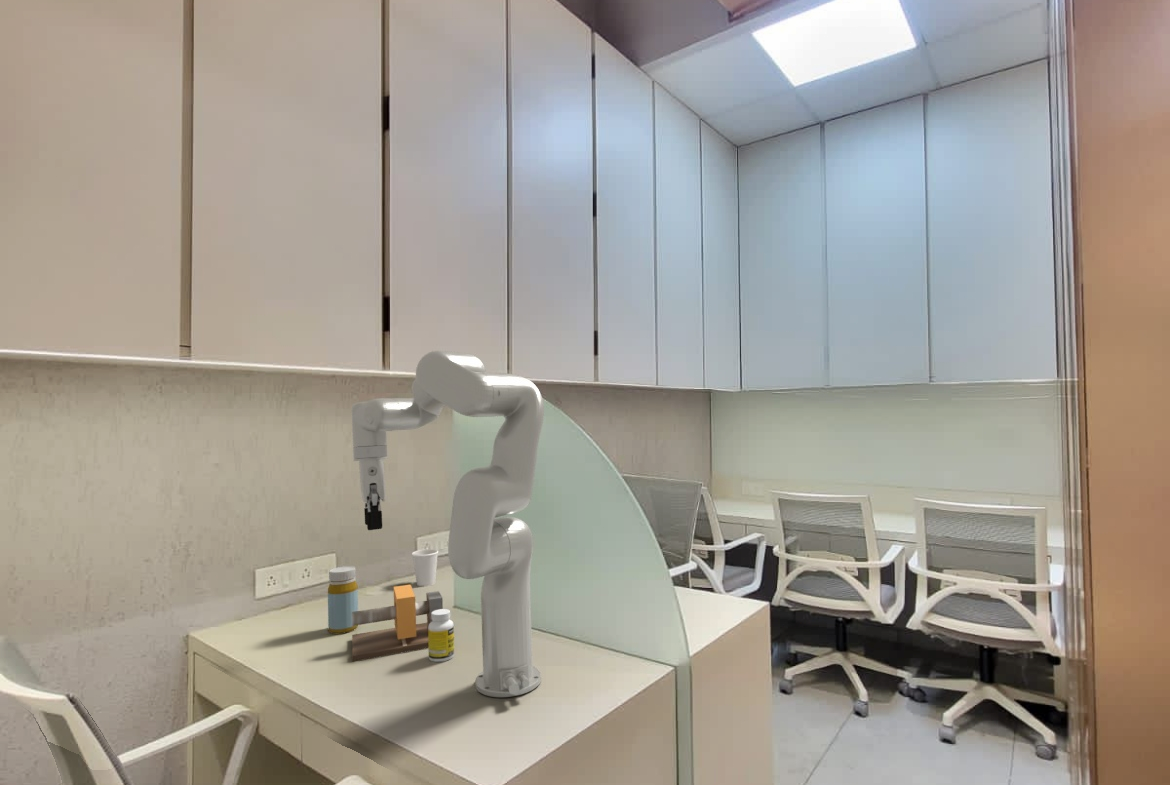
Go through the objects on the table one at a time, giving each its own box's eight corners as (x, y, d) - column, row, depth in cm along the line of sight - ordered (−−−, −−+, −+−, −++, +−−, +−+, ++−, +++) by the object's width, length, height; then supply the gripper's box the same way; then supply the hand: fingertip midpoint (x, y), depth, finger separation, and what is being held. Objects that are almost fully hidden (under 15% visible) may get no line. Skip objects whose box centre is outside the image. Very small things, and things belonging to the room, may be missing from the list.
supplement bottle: (452, 661, 124) (450, 615, 125) (426, 663, 124) (425, 616, 125) (456, 651, 130) (454, 607, 130) (431, 653, 129) (430, 608, 130)
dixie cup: (434, 578, 193) (433, 547, 193) (443, 583, 186) (442, 552, 186) (409, 583, 188) (408, 551, 189) (416, 589, 181) (415, 556, 182)
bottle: (347, 635, 143) (346, 573, 144) (322, 634, 145) (321, 572, 145) (364, 624, 150) (362, 565, 151) (339, 624, 151) (338, 565, 152)
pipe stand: (446, 644, 134) (444, 602, 135) (352, 661, 127) (351, 616, 127) (437, 625, 147) (436, 587, 148) (352, 639, 140) (351, 599, 140)
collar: (416, 636, 133) (415, 596, 134) (398, 639, 132) (396, 599, 132) (411, 621, 143) (410, 584, 144) (394, 624, 142) (393, 586, 142)
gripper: (390, 453, 132) (393, 529, 131) (383, 452, 148) (386, 520, 147) (354, 455, 129) (358, 533, 128) (352, 454, 145) (354, 524, 144)
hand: (373, 526), depth 137 cm, fingers open, 9 cm apart
